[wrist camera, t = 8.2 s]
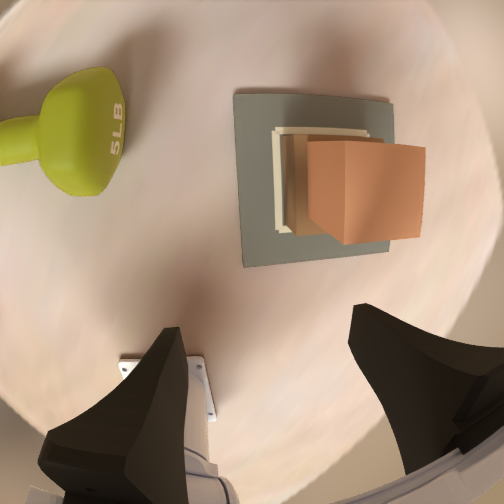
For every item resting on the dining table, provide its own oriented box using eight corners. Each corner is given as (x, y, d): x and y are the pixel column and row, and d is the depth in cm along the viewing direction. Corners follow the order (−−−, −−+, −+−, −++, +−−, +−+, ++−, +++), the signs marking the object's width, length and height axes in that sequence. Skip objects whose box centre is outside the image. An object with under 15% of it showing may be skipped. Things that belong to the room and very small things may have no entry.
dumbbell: (138, 78, 16) (103, 46, 9) (129, 189, 18) (89, 212, 12) (-22, 108, 13) (-75, 108, 6) (-25, 195, 16) (-77, 215, 9)
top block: (372, 213, 17) (420, 237, 13) (308, 217, 17) (343, 244, 12) (374, 144, 16) (425, 147, 11) (306, 141, 15) (344, 140, 11)
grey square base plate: (385, 249, 23) (389, 252, 22) (242, 264, 21) (243, 268, 21) (388, 104, 18) (393, 103, 18) (232, 95, 17) (233, 94, 16)
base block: (360, 218, 21) (381, 229, 18) (284, 223, 20) (296, 236, 17) (361, 138, 19) (383, 138, 16) (281, 136, 18) (293, 134, 15)
